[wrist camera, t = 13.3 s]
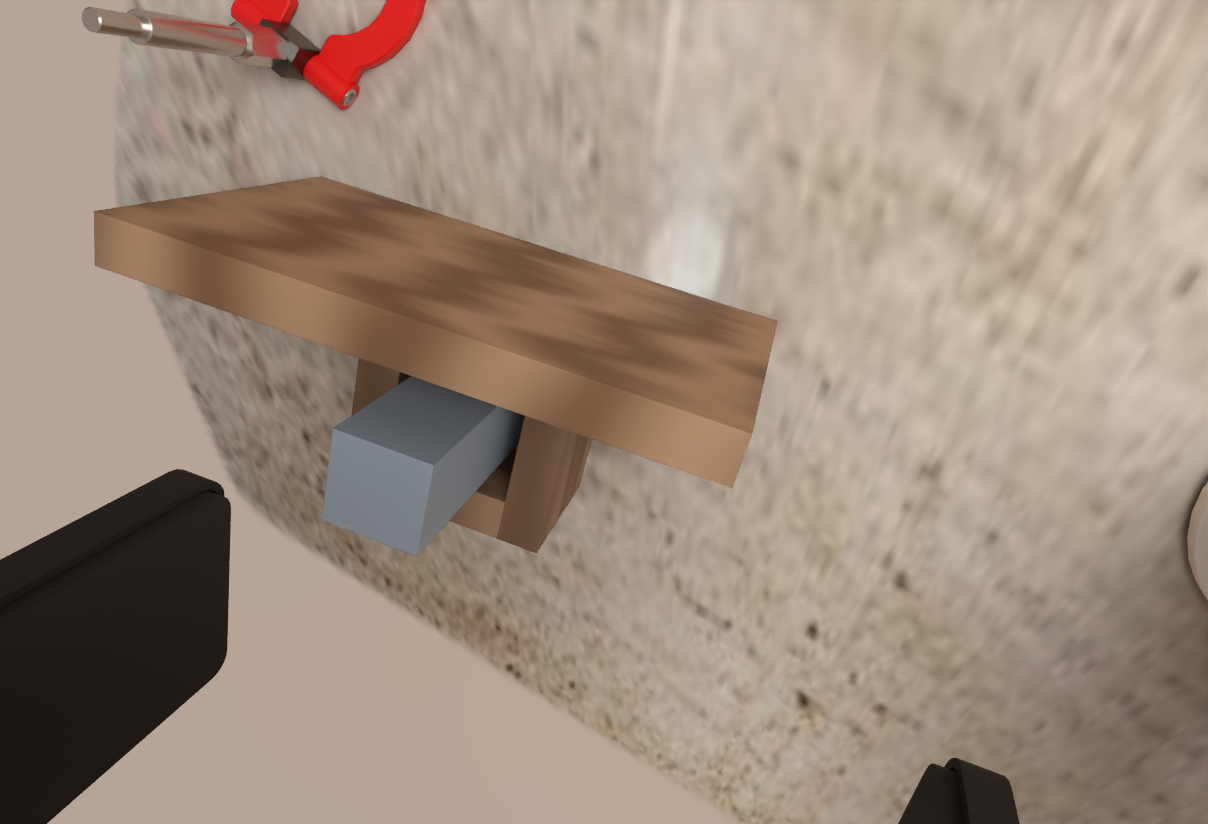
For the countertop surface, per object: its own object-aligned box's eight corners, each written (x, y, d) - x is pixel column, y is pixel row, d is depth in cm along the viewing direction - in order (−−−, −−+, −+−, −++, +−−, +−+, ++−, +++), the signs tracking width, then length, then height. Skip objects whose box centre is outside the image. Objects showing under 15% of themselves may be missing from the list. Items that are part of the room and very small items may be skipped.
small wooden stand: (777, 321, 38) (752, 433, 25) (702, 531, 42) (649, 714, 30) (320, 176, 41) (94, 211, 28) (299, 387, 46) (99, 497, 33)
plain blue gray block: (542, 364, 39) (433, 465, 28) (525, 435, 41) (416, 556, 30) (467, 338, 40) (332, 428, 29) (453, 409, 41) (321, 519, 31)
